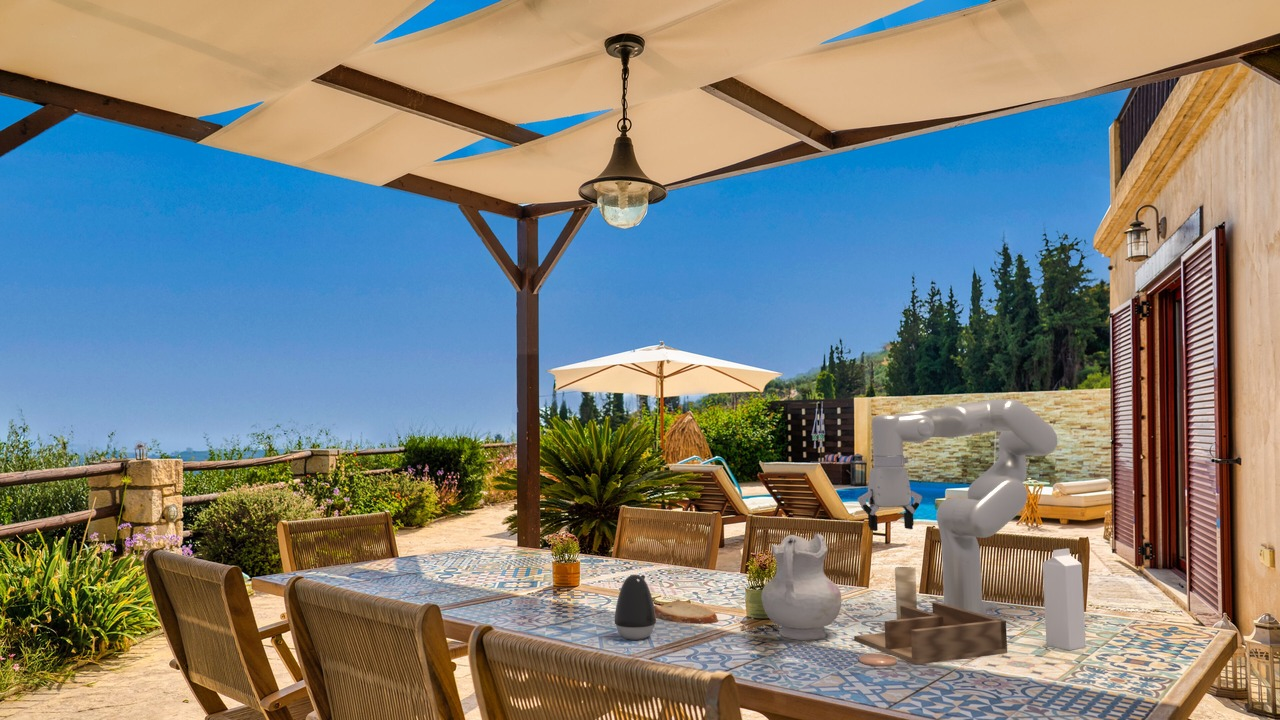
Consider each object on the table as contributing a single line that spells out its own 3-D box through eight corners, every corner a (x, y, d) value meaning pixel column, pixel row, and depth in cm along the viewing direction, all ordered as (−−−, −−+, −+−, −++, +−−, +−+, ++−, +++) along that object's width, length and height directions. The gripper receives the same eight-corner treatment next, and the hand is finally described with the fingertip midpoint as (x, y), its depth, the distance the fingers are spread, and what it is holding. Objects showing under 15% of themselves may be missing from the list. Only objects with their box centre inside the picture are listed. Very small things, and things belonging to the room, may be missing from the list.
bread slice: (719, 625, 232) (719, 610, 233) (650, 625, 233) (650, 611, 233) (715, 610, 250) (715, 597, 250) (651, 611, 251) (651, 597, 251)
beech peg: (909, 625, 227) (907, 566, 228) (921, 629, 222) (919, 569, 223) (892, 627, 225) (890, 567, 226) (905, 631, 220) (902, 570, 221)
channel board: (938, 630, 221) (937, 602, 221) (1007, 652, 199) (1005, 621, 199) (854, 640, 212) (853, 610, 213) (916, 664, 190) (915, 631, 191)
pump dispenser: (663, 634, 221) (662, 572, 222) (645, 644, 212) (644, 579, 213) (626, 631, 225) (625, 570, 226) (607, 640, 216) (607, 576, 217)
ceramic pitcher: (840, 652, 205) (845, 544, 207) (755, 643, 209) (761, 536, 211) (838, 632, 226) (843, 533, 228) (761, 623, 230) (767, 526, 232)
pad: (882, 655, 198) (882, 652, 198) (904, 663, 191) (904, 660, 191) (851, 658, 196) (851, 655, 196) (872, 667, 188) (872, 664, 188)
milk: (1086, 647, 203) (1082, 549, 204) (1069, 650, 200) (1065, 552, 201) (1062, 641, 208) (1058, 546, 210) (1045, 645, 205) (1041, 548, 207)
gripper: (912, 461, 235) (915, 526, 233) (851, 463, 231) (853, 529, 230) (926, 462, 227) (929, 529, 226) (863, 464, 224) (866, 532, 223)
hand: (891, 529), depth 228 cm, fingers open, 9 cm apart
